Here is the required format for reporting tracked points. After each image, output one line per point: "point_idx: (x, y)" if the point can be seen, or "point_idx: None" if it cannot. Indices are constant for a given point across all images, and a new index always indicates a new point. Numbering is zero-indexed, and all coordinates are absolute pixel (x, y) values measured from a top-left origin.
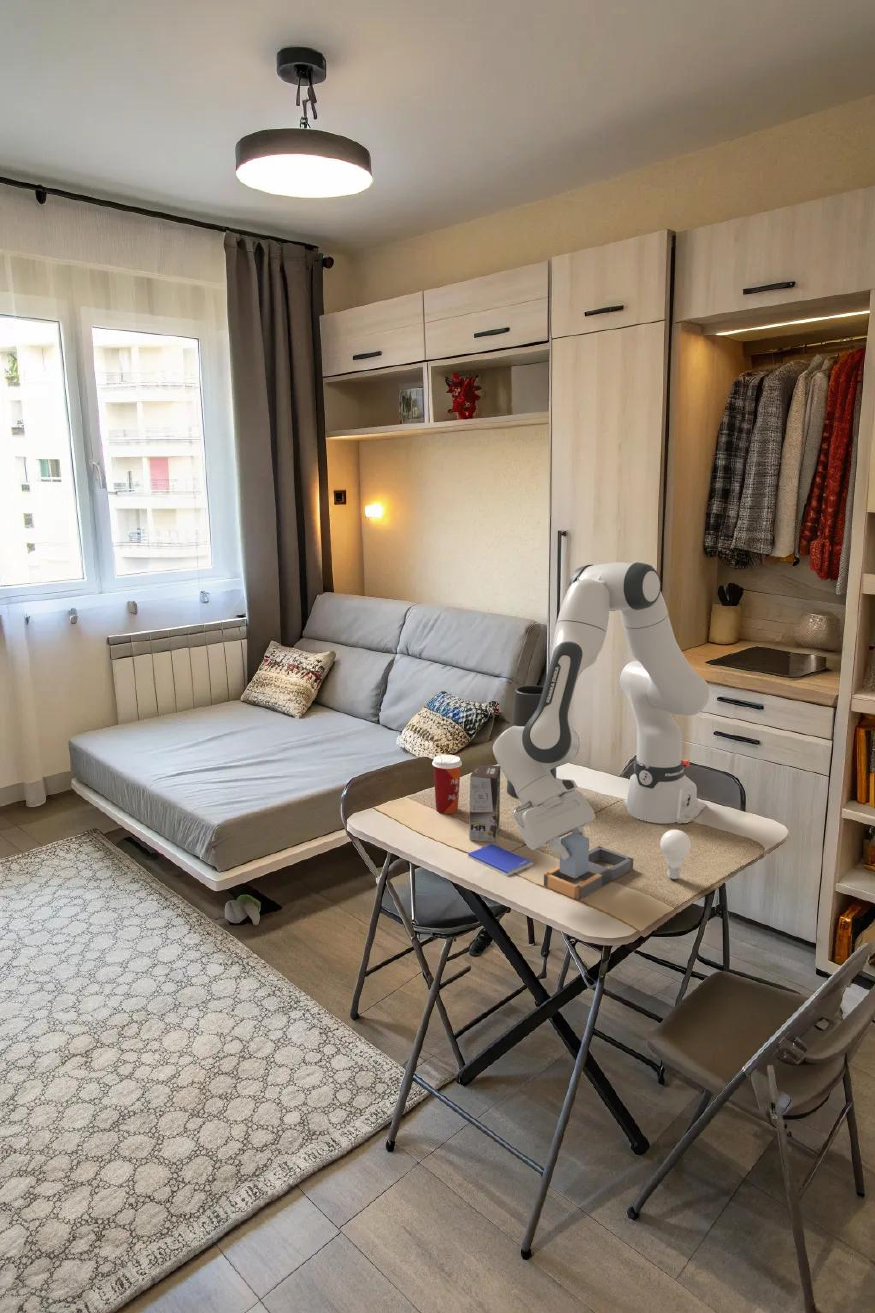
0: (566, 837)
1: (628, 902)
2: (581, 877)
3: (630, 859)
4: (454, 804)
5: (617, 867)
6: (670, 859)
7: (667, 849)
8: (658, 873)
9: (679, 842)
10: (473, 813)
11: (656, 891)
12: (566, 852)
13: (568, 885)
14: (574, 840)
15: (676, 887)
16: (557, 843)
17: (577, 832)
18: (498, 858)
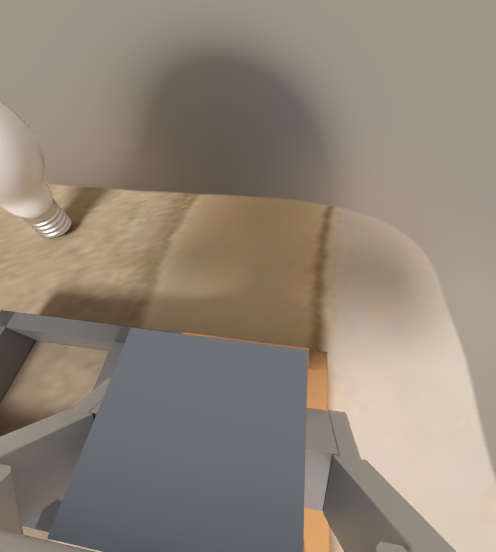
0: (220, 543)
1: (233, 256)
2: None
3: (9, 315)
4: None
5: (90, 322)
6: (41, 182)
7: (25, 152)
8: (39, 264)
9: (2, 104)
10: None
11: (143, 234)
12: (348, 431)
13: (327, 405)
14: (242, 410)
15: (104, 214)
16: (449, 546)
17: (5, 513)
18: None
